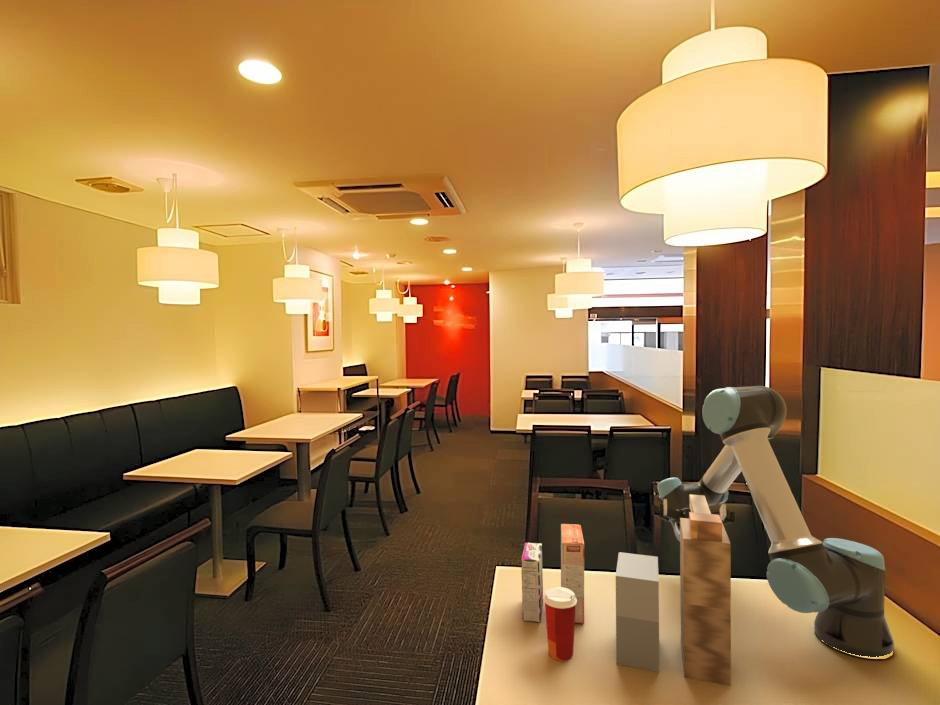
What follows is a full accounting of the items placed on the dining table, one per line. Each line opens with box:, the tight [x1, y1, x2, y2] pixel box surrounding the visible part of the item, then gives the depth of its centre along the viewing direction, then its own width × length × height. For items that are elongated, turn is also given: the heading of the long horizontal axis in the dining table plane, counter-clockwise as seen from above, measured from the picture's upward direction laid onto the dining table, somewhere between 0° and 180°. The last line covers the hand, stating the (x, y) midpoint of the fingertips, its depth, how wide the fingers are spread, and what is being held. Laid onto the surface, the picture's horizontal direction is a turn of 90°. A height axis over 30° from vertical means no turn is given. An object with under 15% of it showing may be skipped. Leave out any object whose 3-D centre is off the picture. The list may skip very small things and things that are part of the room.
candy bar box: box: [520, 542, 544, 623], centre depth 136 cm, size 11×5×16 cm, turn 168°
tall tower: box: [679, 518, 732, 686], centre depth 113 cm, size 9×13×30 cm
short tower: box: [615, 551, 660, 673], centre depth 118 cm, size 9×13×20 cm
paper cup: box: [543, 586, 577, 662], centre depth 117 cm, size 8×8×14 cm
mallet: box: [689, 494, 722, 542], centre depth 117 cm, size 6×22×4 cm, turn 161°
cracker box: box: [560, 523, 585, 624], centre depth 136 cm, size 14×6×21 cm, turn 171°
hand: (694, 506), depth 128 cm, fingers open, 13 cm apart
